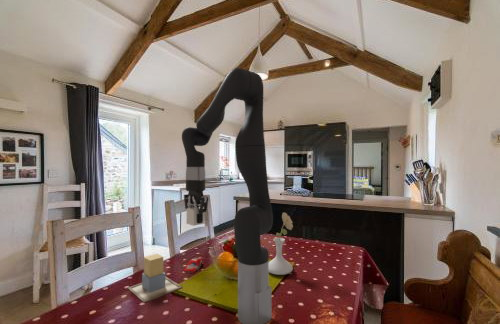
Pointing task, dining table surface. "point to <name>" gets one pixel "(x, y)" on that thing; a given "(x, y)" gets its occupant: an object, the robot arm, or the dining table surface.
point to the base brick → (153, 282)
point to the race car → (193, 265)
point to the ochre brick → (153, 265)
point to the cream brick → (193, 216)
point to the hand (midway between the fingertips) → (195, 221)
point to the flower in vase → (279, 263)
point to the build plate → (147, 296)
